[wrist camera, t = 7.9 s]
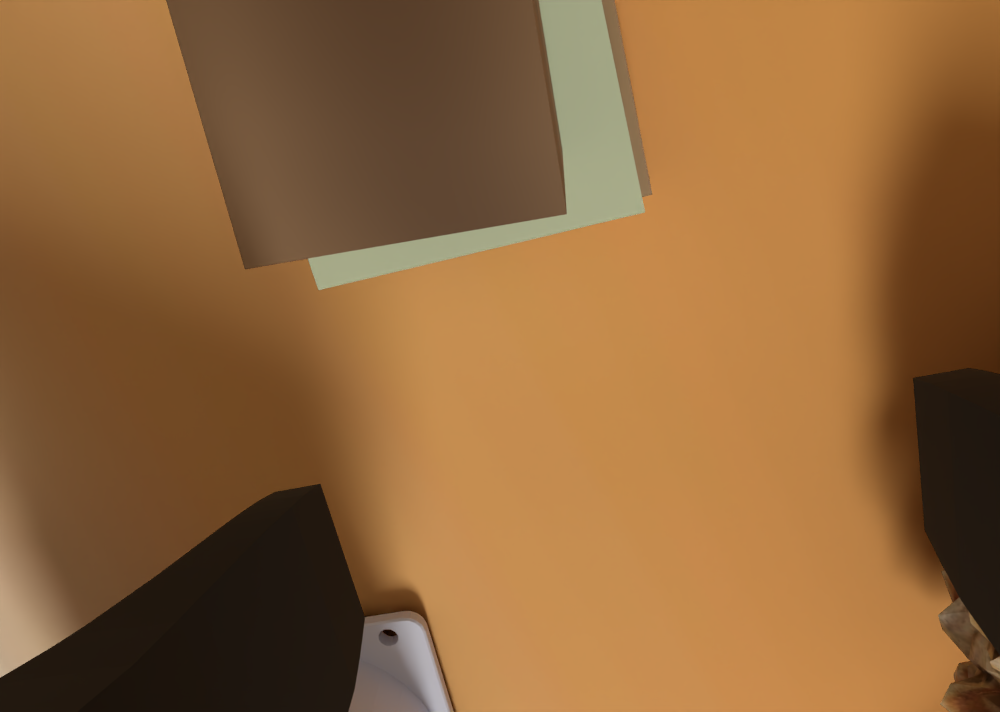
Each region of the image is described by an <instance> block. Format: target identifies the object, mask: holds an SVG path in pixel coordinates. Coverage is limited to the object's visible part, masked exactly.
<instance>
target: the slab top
mask: <svg viewBox="0 0 1000 712" xmlns="http://www.w3.org/2000/svg"><path fill="white" fill-rule="evenodd" d="M539 6H540V12H541V18H542V24H543V31H544V37H545V43H546V50H547V56H548V62H549V68H550V75H551V81H552V87H553V94H554V100H555V106H556V112H557V119H558V125H559V131H560V138H561V144H562V150H563V165H564V179H565V194H566V209H567V214H565V215H559V216H554V217H548V218H542V219H536V220H530V221H524V222H519V223H513V224H507V225H501V226H495V227H489V228H484V229H478V230H472V231H466V232H460V233H454V234H448V235H443V236H437V237H431V238H425V239H419V240H413V241H408V242H402V243H396V244H390V245H384V246H378V247H372V248H367V249H361V250H355V251H349V252H343V253H337V254H332V255H326V256H320V257H314V258H308V261H309V264H310V267H311V270H312V273H313V275H314V278H315V281H316V284H317V287H318V290H322V289H326V288H330V287H334V286H338V285H343V284H347V283H351V282H355V281H359V280H364V279H368V278H372V277H376V276H380V275H385V274H389V273H393V272H397V271H401V270H405V269H410V268H414V267H418V266H422V265H426V264H431V263H435V262H439V261H443V260H447V259H452V258H456V257H460V256H464V255H468V254H472V253H477V252H481V251H485V250H489V249H493V248H498V247H502V246H506V245H510V244H514V243H519V242H523V241H527V240H531V239H535V238H539V237H544V236H548V235H552V234H556V233H560V232H565V231H569V230H573V229H577V228H581V227H586V226H590V225H594V224H598V223H602V222H606V221H611V220H615V219H619V218H623V217H627V216H632V215H636V214H640V213H644V212H645V209H644V205H643V200H642V195H641V190H640V185H639V180H638V175H637V171H636V166H635V161H634V156H633V151H632V146H631V141H630V136H629V132H628V127H627V122H626V117H625V112H624V107H623V102H622V98H621V93H620V88H619V83H618V78H617V73H616V68H615V64H614V59H613V54H612V49H611V44H610V39H609V34H608V30H607V25H606V20H605V15H604V10H603V5H602V0H539Z"/></svg>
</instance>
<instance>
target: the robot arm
mask: <svg viewBox="0 0 1000 712" xmlns="http://www.w3.org/2000/svg"><path fill="white" fill-rule="evenodd" d="M913 383H914V396H915V409H916V422H917V435H918V448H919V461H920V474H921V488H922V501H923V514H924V527H925V532H926V534H927V536H928V538H929V540H930V542H931V544H932V546H933V548H934V550H935V552H936V554H937V556H938V558H939V560H940V562H941V564H942V566H943V568H944V570H945V571H946V573H947V575H948V577H949V579H950V581H951V583H952V585H953V586H954V588H955V590H956V592H957V594H958V596H959V598H960V599H961V601H962V602H963V604H964V605H965V607H966V608H967V610H968V611H969V613H970V614H971V615H972V617H973V618H974V620H975V621H976V623H977V624H978V625H979V627H980V628H981V630H982V631H983V633H984V634H985V635H986V637H987V638H988V640H989V641H990V642H991V644H992V645H993V647H994V648H995V649H996V651H997V652H998V654H999V655H1000V374H996V373H992V372H988V371H983V370H978V369H971V368H966V369H961V370H955V371H950V372H944V373H938V374H933V375H927V376H922V377H916V378H913ZM385 629H388V630H392V631H394V632H396V634H397V635H395V636H388V635H386V634H384V633H383V630H385ZM0 712H454V711H453V708H452V704H451V701H450V698H449V695H448V691H447V688H446V685H445V682H444V678H443V675H442V672H441V668H440V665H439V662H438V659H437V655H436V652H435V649H434V646H433V642H432V639H431V636H430V632H429V629H428V626H427V623H426V621H425V620H424V618H423V617H422V616H421V615H419V614H418V613H415V612H412V611H400V612H394V613H388V614H381V615H375V616H369V617H364V614H363V611H362V608H361V605H360V602H359V599H358V596H357V593H356V590H355V587H354V584H353V581H352V578H351V575H350V572H349V569H348V566H347V563H346V560H345V557H344V554H343V551H342V548H341V545H340V542H339V539H338V536H337V533H336V529H335V526H334V523H333V520H332V517H331V514H330V511H329V508H328V505H327V502H326V499H325V496H324V493H323V490H322V487H321V484H317V485H312V486H306V487H301V488H295V489H289V490H284V491H278V492H274V493H272V494H270V495H269V496H267V497H265V498H263V499H261V500H260V501H258V502H256V503H255V504H253V505H252V506H250V507H249V508H247V509H246V510H244V511H243V512H242V513H240V514H239V515H237V516H236V517H235V518H233V519H232V520H230V521H229V522H228V523H226V524H225V525H224V526H222V527H221V528H220V529H218V530H217V531H216V532H214V533H213V534H212V535H210V536H209V537H208V538H206V539H205V540H204V541H202V542H201V543H200V544H198V545H197V546H196V547H194V548H193V549H192V550H190V551H189V552H188V553H186V554H185V555H184V556H182V557H181V558H180V559H178V560H177V561H176V562H174V563H173V564H172V565H170V566H169V567H168V568H166V569H165V570H164V571H162V572H161V573H160V574H158V575H157V576H156V577H154V578H153V579H151V580H150V581H148V582H147V583H146V584H144V585H143V586H141V587H140V588H138V589H137V590H136V591H134V592H133V593H131V594H130V595H129V596H127V597H126V598H124V599H123V600H121V601H120V602H119V603H117V604H116V605H114V606H113V607H111V608H110V609H109V610H107V611H106V612H104V613H103V614H102V615H100V616H99V617H97V618H96V619H94V620H93V621H92V622H90V623H89V624H87V625H86V626H84V627H83V628H81V629H80V630H78V631H76V632H75V633H73V634H72V635H70V636H69V637H67V638H66V639H64V640H62V641H61V642H59V643H58V644H56V645H54V646H53V647H51V648H50V649H48V650H46V651H45V652H43V653H41V654H40V655H38V656H36V657H35V658H33V659H31V660H30V661H28V662H26V663H25V664H23V665H21V666H19V667H18V668H16V669H14V670H13V671H11V672H9V673H8V674H6V675H4V676H3V677H1V678H0Z"/></svg>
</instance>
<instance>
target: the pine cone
mask: <svg viewBox="0 0 1000 712" xmlns="http://www.w3.org/2000/svg"><path fill="white" fill-rule="evenodd" d="M942 575H943V578H944V580H945V583H946V586H947V588H948V591H949V594H950V597H951V599H952V602H953V603H952V604H951V605H950V606H948V607H947V608H946V609H945V610H944V611H943V612H941V613H940V614H939V615H938V616H939V620H940V623H941V626H942V629H943V631H944V632H945V633H946V634H947V635H948V636H949V637H950V639H951V640H952V641H953V642H954V643H955V644H956V645H957V646H958V648H959V649H960V650H961V651H962V652H963V653H964V654H965V656H966V657H967V658H968V659H969V660H970V661H968V662H963V663H959V664H958V666H957V669H956V671H955V673H954V679H955V682H954V683H951V684H950V686H949V688H948V690H947V692H946V694H945V696H944V698H943V700H942V702H941V705H942V706H943V707H944V708H946V709H947V710H948V711H949V712H1000V655H999V654H998V652H997V651H996V649H995V648H994V647H993V645H992V644H991V642H990V641H989V640H988V638H987V637H986V635H985V634H984V633H983V631H982V630H981V628H980V627H979V625H978V624H977V623H976V621H975V620H974V618H973V617H972V615H971V614H970V613H969V611H968V610H967V608H966V607H965V605H964V604H963V602H962V601H961V599H960V598H959V596H958V594H957V592H956V590H955V588H954V586H953V585H952V583H951V581H950V579H949V577H948V575H947V573H946V571H945V570H943V571H942Z"/></svg>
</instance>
